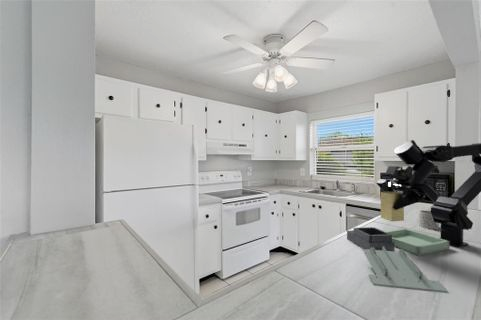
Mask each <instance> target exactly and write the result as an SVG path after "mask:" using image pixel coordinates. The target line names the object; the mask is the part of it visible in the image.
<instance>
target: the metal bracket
mask: <svg viewBox="0 0 481 320" xmlns="http://www.w3.org/2000/svg"><path fill="white" fill-rule="evenodd" d="M362 252H363V253H364V256H365V257H366V258H367V261H368V263H369V264H370V266H371V267H372V270H373V271H374V274H368V278H369V279H370V282H371V283H372V285H373V286H376V287H385V288H391V287H392V288H401V289H410V290H419V291H430V292H431V293H432V292H433V293H441V294H443V293H444V294H448V293H449V291H448V289H447V288H446V287H445V286H444V284H443V283H442V282H441V281H439V280H432V279H429V278H428V277H427V276H426V275H425V274H424V272H423V271H422V270H421V269H420V268H419V266H418V265H417V264H416V263H415V262H414V260H413V259H412V258H411V257H410V255H409V254H408V253H407V252H406V251H405V250H402V249H399V251H395V250H394V251H386V249H385V248H384V246H383V247H382V251H381V250H375V249H374V248H372V247H371V248H370V250H369V249H363V248H362Z"/></svg>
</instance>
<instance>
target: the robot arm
mask: <svg viewBox="0 0 481 320" xmlns="http://www.w3.org/2000/svg"><path fill="white" fill-rule="evenodd" d="M393 152H394V154H395V155H396V156H398V158H399V159H400V160H401V161H402V162H403V164H405V165H403V166H396V165H394V166H393V165H388V167H387V168H386V171H385V173H384V176H387V177H388V176H389V177H390V178H393V179H392V181H393V182H394V183H393V182H392V181H391V180H390V179H385V178H384V179H383V178H379V179H378V180H377V181H376V182H375V183H376V185H378V187H379V188H380V190H382V192H391V191H392V192H400V193H403V194H402V196H401V197H400V198H399V200H398V201H397V202H396V204H395V205H394V207H393V208H394V209H395V210H398V209H400V208H403V207H404V208H405V207H408V206H411V205H414V204H417V203H422V202H423V199H424V201H425V202H429V203H431V204H432V206H430V211H431V214H432V217H433V220H434V222H437V223H439V225H440V237H439V238H440V239H443V240H447V241H450V245H449V246H453V247H456V248H457V247H458V248H460V247H465V246H469V245H470V244H469V242H465V241H464V230H466V231H469V230H471V229H472V228H473V225H474V223H473V221H472V220H471V219H470V218H469V217H468V214H469V211H468V206H469V205H470V204H471V202H472V201H473V200H475V199H476V197H478V195H479V194H481V142H480V143H479V142H478V143H471V144H465V145H464V144H463V145H456V146H452V145H443V144H441V145H430V146H428V145H427V146H422V147H421V148H420V146H419V145H417V143H416V141H415V140H414V139H408V140H406V142H404V143H401V144H400V145H398V146H397V147H395V148H394V151H393ZM467 156H469V157H470V156H471V162H473V164H474V165H473V166H474V170H475V171H473V173H472V174H471V175H470V176H469V177H468V178H467V179H466V180H465V181H464V182H463V183H462V184H461V185H460V186H458V188H457V189H456V190H455V191H454V192H453V194H451V196H449V197H447V196H439V194H438V193H437V192H436V190H434V188H433V187H432V186H431V185H430V184H429V183H428V182H427V180H426V179H427V178H428V177H429V176H430V175H431V174H440V170H439V166H438V165H435V163H446V162H449V161H452V160H453V159H455V158H459V157H460V158H461V157H467Z"/></svg>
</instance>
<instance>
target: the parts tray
mask: <svg viewBox="0 0 481 320" xmlns="http://www.w3.org/2000/svg"><path fill="white" fill-rule="evenodd" d="M384 232H387V233H389V234H391V235H392V241H393V242H394V248H397V249H399V250H404V251H405V252H408V253H410V254H413V255H416V256H420V257H421V256H424V255H427V254H428V255H429V254H433V253H437V252H441V251H446V250H449V249H450V246H451V245H450V241H447V240H443V239H440V237H437V236H436V237H435V236H432V235H429V234H427V233H426V234H425V233H421V232H419V231H415V230H412V229H408V228H399V229H394V230H386V231H384Z"/></svg>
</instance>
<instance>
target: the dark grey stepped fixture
mask: <svg viewBox="0 0 481 320" xmlns="http://www.w3.org/2000/svg"><path fill="white" fill-rule="evenodd" d="M346 239H347V240H348V241H350V242H351V243H353V244H354V245H357V246H358V247H360V248H361V249H362V250H363V249H369V250H370V248H371V247H372V248H374V249H375V250H381V251H382V247H383V246H384V248H385V249H386V251H394V252H395V247H394V242H393V241H392V235H391V234H389V233H387V232H385V231H383V230H381V229H380V228H377V227H372V226H370V227H369V226H368V227H354V228H353V230H347V231H346Z"/></svg>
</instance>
